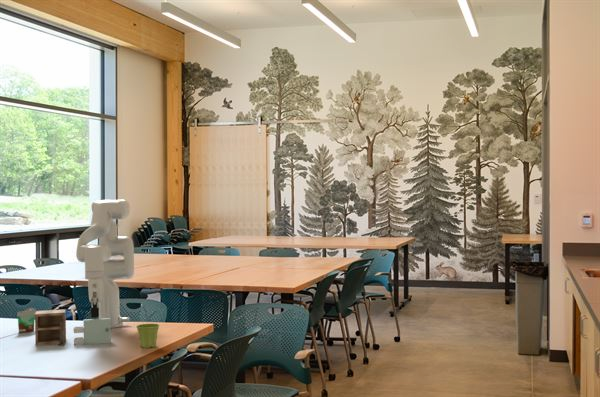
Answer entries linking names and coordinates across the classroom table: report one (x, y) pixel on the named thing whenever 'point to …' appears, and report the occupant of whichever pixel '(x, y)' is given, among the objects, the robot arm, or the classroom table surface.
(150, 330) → the plant pot
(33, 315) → the food container
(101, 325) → the door
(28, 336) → the classroom table surface
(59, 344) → the cabinet
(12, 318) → the classroom table surface
